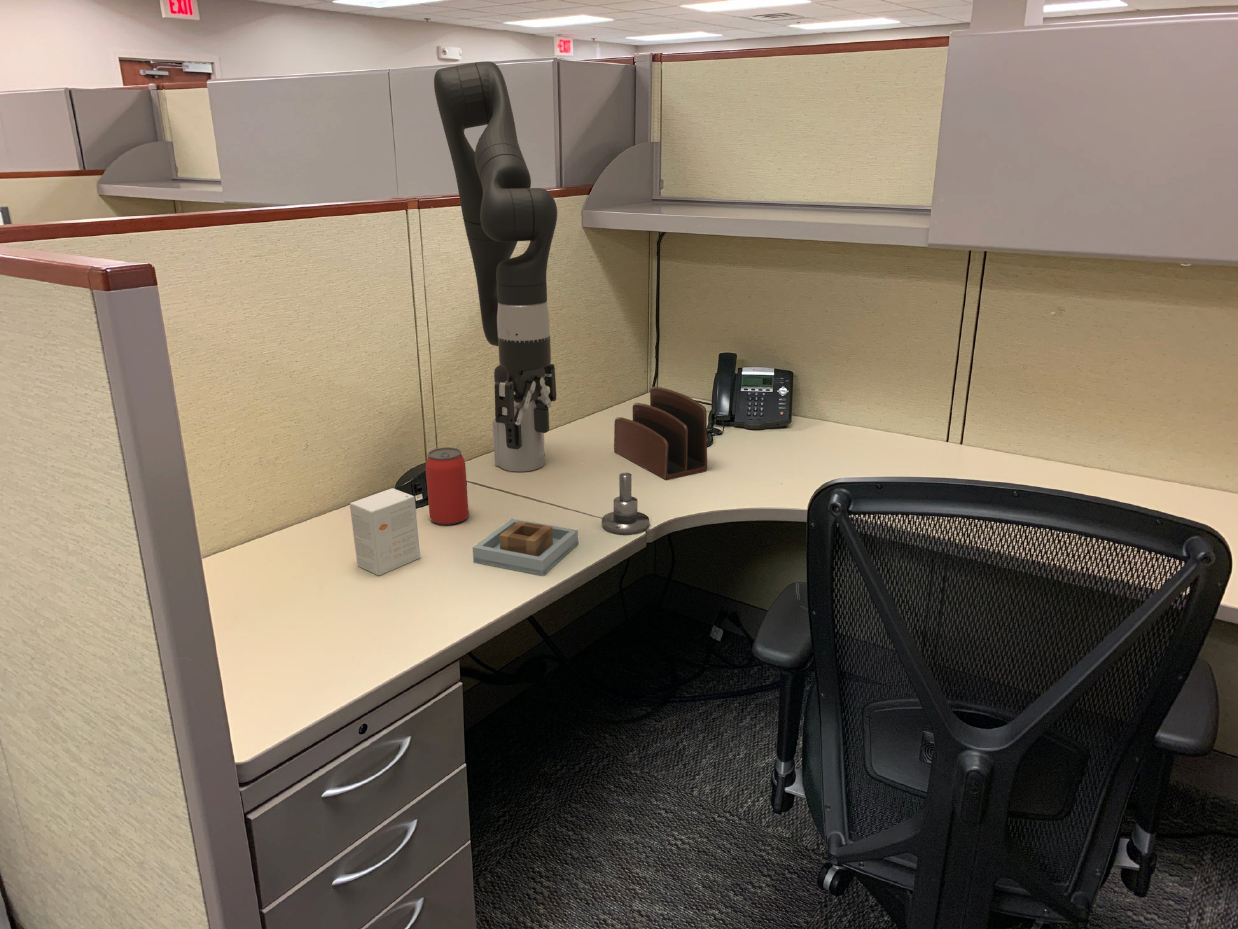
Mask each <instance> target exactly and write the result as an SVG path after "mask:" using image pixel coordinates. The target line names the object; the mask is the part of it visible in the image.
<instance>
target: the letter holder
mask: <svg viewBox="0 0 1238 929" xmlns="http://www.w3.org/2000/svg"><path fill="white" fill-rule="evenodd" d="M649 397H650V398H649V400H650V402H649V404H647V403H640V402H635V403H633V405H632V419H629V418H625V417H616V418H615V419H614V427H613V428H614V430H613V431H614V432H613V452H614V453H616V454H617V455H619V456H621V457H623V458H625V459H626V460H628V461H630V462H632V463H634V464H636V465H638V466H639V467H641V468H643V469H645V470H647V471H649V472H650V473H652V474H654V475H655V476H658V477H659V478H661V479H664V480H665V481H668V480H671V479H672V480H673V479H678V478H682V477H686V476H690V475H691V476H692V475H696V474H699V473H704V472H707V470H708V424H707V423H708V422H707V418H708V416H707V415H708V414H707V413H708V412H707V408H706V407H705V406H704V405H703V404H702V403H700V402H698V401H697V400H695V399H693V398H691V397H690V396H687V395H686V394H684V393H680V392H678V391H675V390H671V389H668V388H665V387H660V386H651V388H650V391H649Z"/></svg>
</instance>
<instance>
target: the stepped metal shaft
mask: <svg viewBox="0 0 1238 929" xmlns="http://www.w3.org/2000/svg"><path fill="white" fill-rule="evenodd" d="M618 475H619V477H618V478H619V479H618V480H619V483H618V486H619V496H616V497H615V498H614V499H613V511H611V512H608V513H606V514H605V515H603V516H602V517H601V528H602V529H603V530H604V531H606V532H608V533H610V534H614V535H622V536H629V535H631V536H632V535H637V534H641V533H643V532H645V531H647V530H648V529H649V528H650V517H649V516H648V515H647V514H645V513H643V512H640V511H638V502H639V501H638V499H637V497H634V496H632V474H631V473H630V472H621V473H619V474H618Z"/></svg>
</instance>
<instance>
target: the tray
mask: <svg viewBox="0 0 1238 929" xmlns="http://www.w3.org/2000/svg"><path fill="white" fill-rule="evenodd" d="M518 521H522V522H528V523H534V524H539V525H545V526H551V527H552V533H553V544H552V545H551V546H550V547H549V548H548V549H547V550H545V551H544V552H543V553H542V554H541V555H540V556H533V555H527V554H522V553H517V552H512V551H506V550H501V549H500V536H499V535H501V534H502V533H503V532H505V531H506V530H507V529H509V528H510V527H511V526H513V525H514V524H515V523H517V522H518ZM577 546H579V530H578V529H575V528H567V527H563V526H562V527H561V526H557V525H556V526H555V525H551V524H545V523H541V522H540V523H539V522H534V521H528V520H523V519H522V520H521V519H517V518H510V520H508V521H507V522H505V523H504V524H503V525H501V526H500V527H499V528H497V529H495V531H493V532H492V533H490V534H489V535H488V536H486V537H485V538H483V539H482V540H481V541H479V542H478V543H477V544H475V545H474V546H472V557H473V558H472V560H473V563H476V564H481V565H485V566H486V565H487V566H491V567H496V568H501V569H506V570H510V571H516V572H521V573H527V574H531V575H536V576H541V577H543V576H545V575H546V574H547V573H548V572H549V571H550V570H551V569H553V568H554V567H555V566H556V565H557V564H558V563H559V562H560V561H561V560H563V559H564V558H565V557H566V556H567V555H568V554H569V553H570V552H571V551H573V549H575V548H576V547H577Z"/></svg>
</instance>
